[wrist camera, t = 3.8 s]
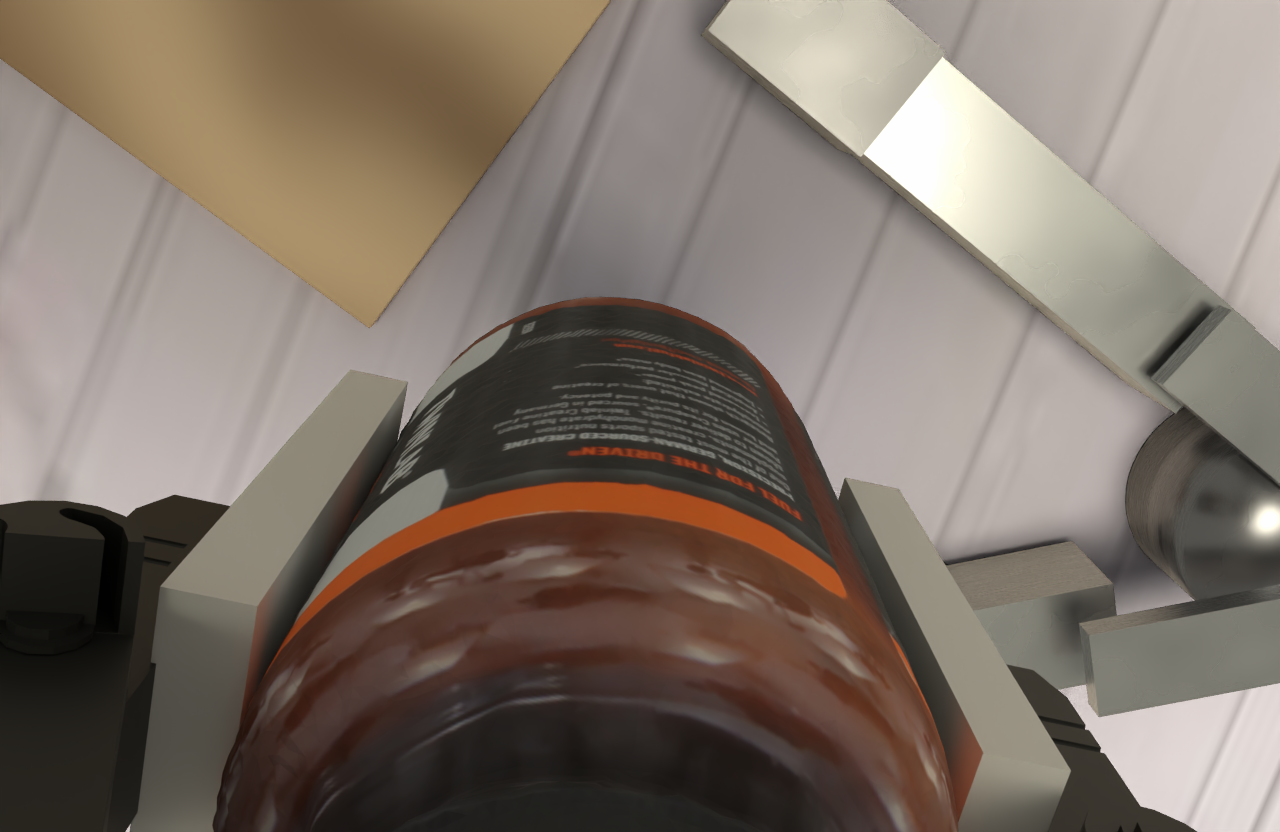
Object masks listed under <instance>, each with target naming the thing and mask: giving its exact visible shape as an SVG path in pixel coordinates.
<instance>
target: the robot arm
mask: <svg viewBox="0 0 1280 832" xmlns="http://www.w3.org/2000/svg"><path fill="white" fill-rule="evenodd" d="M407 384H408V382H405V381H400V380H396V379H391V378H387V377H382V376H377V375H373V374H368V373H364V372H359V371H354V370H350V371H349V372H348V373H347V374H346V375H345V377H344V378H343V379H342V380H341V381H340V382H339V383H338V385H337V386H336V387H335V388H334V389H333V390H332V391H331V393H330V394H329V395H328V396H327V397H326V398H325V399H324V401H323V402H322V403H321V404H320V405H319V406H318V407H317V408H316V410H315V411H314V412H313V413H312V414H311V415H310V416H309V418H308V419H307V420H306V421H305V422H304V423H303V424H302V426H301V427H300V428H299V429H298V430H297V431H296V432H295V434H294V435H293V436H292V437H291V438H290V439H289V440H288V442H287V443H286V444H285V445H284V446H283V447H282V448H281V449H280V451H279V452H278V453H277V454H276V455H275V456H274V457H273V459H272V460H271V461H270V462H269V463H268V464H267V465H266V467H265V468H264V469H263V470H262V471H261V472H260V473H259V475H258V476H257V477H256V478H255V479H254V480H253V481H252V482H251V484H250V485H249V486H248V487H247V488H246V489H245V490H244V492H243V493H242V494H241V495H240V496H239V497H238V498H237V500H236V501H235V502H234V503H233V504H232V505H231V506H226V505H222V504H217V503H212V502H207V501H202V500H198V499H193V498H188V497H183V496H178V495H173V496H170V497H167V498H164V499H161V500H159V501H156V502H153V503H150V504H147V505H145V506H142V507H139V508H136V509H135V510H134V511H133V512H132V513H131V514H130V515H128V516H127V517H125V516H123V515H120V514H118V513H115V512H112V511H109V510H106V509H104V508H101V507H98V506H93V505H86V504H80V503H74V502H68V501H23V502H17V503H10V504H3V505H0V832H125V831H126V830H127V828H128V827H129V825H130V823H131V826H130V832H214V831H213V826H212V824H213V819H214V816H215V813H216V809H217V796H218V793H219V790H220V787H221V780H222V773H223V770H224V767H225V764H226V761H227V758H228V755H229V753H230V751H231V749H232V747H233V745H234V743H235V740H236V736H237V734H238V731H239V729H240V726H241V724H242V721H243V719H244V716H245V714H246V712H247V709H248V707H249V704H250V702H251V700H252V698H253V697H254V695H255V693H256V691H257V689H258V687H259V685H260V683H261V681H262V679H263V677H264V675H265V673H266V671H267V670H268V668H269V666H270V664H271V663H272V661H273V659H274V657H275V656H276V654H277V652H278V650H279V648H280V647H281V645H282V642H283V640H284V638H285V637H286V635H287V633H288V631H289V629H290V627H291V625H292V623H293V622H294V620H295V618H296V616H297V614H298V613H299V611H300V610H301V609H302V607H303V606H304V604H305V602H306V600H307V598H308V596H309V594H310V592H311V590H312V588H313V587H314V585H315V584H316V582H317V581H318V579H319V578H320V576H321V575H322V572H323V570H324V567H325V565H326V564H327V562H328V561H329V560H330V558H331V557H332V555H333V552H334V550H335V549H336V547H337V546H338V544H339V543H340V541H341V540H342V538H343V536H344V535H345V533H346V531H347V529H348V527H349V526H350V524H351V522H352V520H353V519H354V517H355V516H356V515H357V513H358V511H359V509H360V508H361V506H362V505H363V503H364V501H365V500H366V498H367V496H368V495H369V492H370V490H371V487H372V486H373V484H374V482H375V481H376V479H377V477H378V475H379V473H380V471H381V470H382V467H383V465H384V464H385V463H386V461H387V459H388V457H389V455H390V453H391V452H392V450H393V448H394V447H395V445H396V444H397V440H398V434H399V429H400V423H401V418H402V412H403V407H404V401H405V396H406V390H407ZM838 502H839V504H840V506H841V509H842V511H843V513H844V515H845V518H846V520H847V523H848V525H849V527H850V529H851V532H852V534H853V536H854V538H855V540H856V543H857V545H858V547H859V549H860V551H861V553H862V555H863V558H864V561H865V563H866V566H867V568H868V571H869V572H870V574H871V576H872V579H873V581H874V583H875V585H876V588H877V590H878V593H879V596H880V598H881V600H882V602H883V604H884V607H885V609H886V611H887V613H888V616H889V618H890V621H891V623H892V625H893V628H894V630H895V632H896V634H897V636H898V637H899V639H900V641H901V643H902V644H903V646H904V648H905V651H906V654H907V657H908V660H909V663H910V666H911V669H912V671H913V673H914V675H915V677H916V679H917V683H918V686H919V688H920V690H921V692H922V695H923V697H924V699H925V701H926V703H927V705H928V708H929V710H930V712H931V714H932V717H933V720H934V723H935V726H936V729H937V731H938V734H939V737H940V740H941V743H942V746H943V749H944V752H945V757H946V761H947V765H948V769H949V774H950V778H951V783H952V788H953V793H954V798H955V803H956V808H957V817H958V832H1197V831H1195V830H1194V829H1192V828H1191V827H1189V826H1188V825H1186V824H1184V823H1182V822H1180V821H1178V820H1175V819H1173V818H1171V817H1169V816H1167V815H1164V814H1162V813H1160V812H1158V811H1155V810H1152V809H1148V808H1144V807H1140V805H1139V804H1138V802H1137V801H1136V799H1135V798H1134V796H1133V795H1132V793H1131V792H1130V790H1129V789H1128V787H1127V786H1126V784H1125V783H1124V781H1123V780H1122V778H1121V777H1120V775H1119V774H1118V772H1117V771H1116V769H1115V768H1114V767H1113V765H1112V764H1111V762H1110V761H1109V759H1108V758H1107V756H1106V755H1105V754H1104V753H1100V749H1101V747H1100V746H1099V744H1098V743H1097V741H1096V740H1095V738H1094V737H1093V735H1092V734H1091V732H1090V731H1089V730H1085V724H1084V722H1083V721H1082V719H1081V718H1080V716H1079V715H1078V713H1077V712H1076V710H1075V709H1074V707H1073V706H1072V704H1071V703H1070V701H1069V700H1068V698H1067V697H1066V696H1064V695H1063V694H1062V693H1061V692H1060V691H1058V690H1057V689H1056V688H1055V687H1054V686H1052V685H1051V684H1050V683H1049V682H1047V681H1046V680H1045V679H1044V678H1043V677H1041V676H1040V675H1039V674H1038V673H1036V672H1035V671H1034V670H1031V669H1026V668H1021V667H1017V666H1012V665H1007V664H1005V662H1004V660H1003V659H1002V657H1001V655H1000V654H999V652H998V650H997V649H996V647H995V646H994V644H993V642H992V641H991V639H990V637H989V636H988V634H987V633H986V631H985V629H984V628H983V626H982V624H981V623H980V621H979V619H978V618H977V616H976V615H975V613H974V611H973V610H972V608H971V606H970V605H969V603H968V601H967V600H966V598H965V597H964V595H963V593H962V592H961V590H960V588H959V587H958V585H957V583H956V582H955V580H954V579H953V577H952V575H951V574H950V572H949V570H948V569H947V567H946V566H945V564H944V562H943V561H942V559H941V557H940V556H939V554H938V552H937V551H936V549H935V548H934V546H933V544H932V543H931V541H930V539H929V538H928V536H927V534H926V533H925V531H924V530H923V528H922V526H921V525H920V523H919V521H918V520H917V518H916V516H915V515H914V513H913V512H912V510H911V508H910V507H909V505H908V503H907V502H906V500H905V499H904V497H903V495H902V494H901V492H900V490H899V489H895V488H891V487H886V486H882V485H877V484H872V483H868V482H863V481H859V480H854V479H850V478H845V479H844V483H843V486H842V489H841V493H840V496H839V499H838Z"/></svg>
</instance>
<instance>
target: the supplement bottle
mask: <svg viewBox="0 0 1280 832" xmlns="http://www.w3.org/2000/svg"><path fill="white" fill-rule="evenodd" d="M212 826H213V831H214V832H958V817H957V808H956V803H955V798H954V793H953V788H952V783H951V778H950V774H949V769H948V765H947V761H946V757H945V752H944V749H943V746H942V743H941V740H940V737H939V734H938V731H937V729H936V726H935V723H934V720H933V717H932V714H931V712H930V710H929V708H928V705H927V703H926V701H925V699H924V697H923V695H922V692H921V690H920V688H919V686H918V683H917V679H916V677H915V675H914V673H913V671H912V669H911V666H910V663H909V660H908V657H907V654H906V651H905V648H904V646H903V644H902V643H901V641H900V639H899V637H898V636H897V634H896V632H895V630H894V628H893V625H892V623H891V621H890V618H889V616H888V613H887V611H886V609H885V607H884V604H883V602H882V600H881V598H880V596H879V593H878V590H877V588H876V585H875V583H874V581H873V579H872V576H871V574H870V572H869V571H868V568H867V566H866V563H865V561H864V558H863V555H862V553H861V551H860V549H859V547H858V545H857V543H856V540H855V538H854V536H853V534H852V532H851V529H850V527H849V525H848V523H847V520H846V518H845V515H844V513H843V511H842V509H841V506H840V504H839V502H838V499H837V497H836V495H835V493H834V491H833V489H832V486H831V484H830V482H829V479H828V477H827V475H826V472H825V470H824V468H823V466H822V463H821V461H820V459H819V457H818V455H817V453H816V451H815V449H814V447H813V444H812V441H811V439H810V437H809V435H808V433H807V431H806V429H805V426H804V424H803V422H802V421H801V419H800V417H799V416H798V414H797V413H796V412H795V410H794V408H793V406H792V404H791V402H790V401H789V400H788V398H787V397H786V395H785V394H784V392H783V391H782V389H781V387H780V385H779V384H778V383H777V381H776V380H775V379H774V378H773V376H772V375H771V374H770V372H769V371H768V370H767V369H766V368H765V367H764V366H763V365H762V364H761V363H760V362H759V361H758V359H757V358H756V357H755V356H753V355H752V354H751V353H750V352H749V350H748V349H747V348H746V347H745V346H744V345H743V344H741V343H740V342H739V341H737V340H736V339H734V338H733V337H732V336H730V335H729V334H727V333H726V332H725V331H723V330H722V329H720V328H718V327H716V326H714V325H712V324H710V323H708V322H707V321H704V320H702V319H701V318H699V317H696V316H693V315H691V314H688V313H686V312H683V311H681V310H678V309H675V308H672V307H669V306H666V305H663V304H659V303H654V302H649V301H644V300H639V299H627V298H614V297H585V298H579V299H573V300H567V301H562V302H558V303H554V304H550V305H546V306H542V307H539V308H536V309H534V310H531V311H529V312H527V313H524V314H522V315H520V316H518V317H516V318H513V319H511V320H509V321H508V322H506V323H504V324H501V325H499V326H497V327H496V328H494V329H493V330H491V331H490V332H488V333H487V334H485V335H484V336H482V337H481V338H479V339H478V340H476V341H475V342H474V343H473V344H472V345H471V346H469V347H468V348H467V349H466V350H465V351H464V352H462V353H461V354H460V355H459V356H458V357H457V358H456V359H455V360H453V362H452V363H451V365H450V366H449V367H448V368H447V370H446V371H445V372H444V373H443V374H442V375H441V376H440V377H439V378H438V379H437V381H436V382H435V383H434V385H433V386H432V387H431V388H430V389H429V391H428V392H427V394H426V395H425V397H424V399H423V400H422V401H421V402H420V404H419V405H418V406H417V408H416V409H415V410H414V411H413V414H412V416H411V418H410V420H409V422H408V423H407V425H406V426H405V427H404V429H403V430H402V431H401V434H400V437H399V440H398V442H397V444H396V445H395V447H394V448H393V450H392V452H391V453H390V455H389V457H388V459H387V461H386V463H385V464H384V465H383V467H382V470H381V471H380V473H379V475H378V477H377V479H376V481H375V482H374V484H373V486H372V487H371V490H370V492H369V495H368V496H367V498H366V500H365V501H364V503H363V505H362V506H361V508H360V509H359V511H358V513H357V515H356V516H355V517H354V519H353V520H352V522H351V524H350V526H349V527H348V529H347V531H346V533H345V535H344V536H343V538H342V540H341V541H340V543H339V544H338V546H337V547H336V549H335V550H334V552H333V555H332V557H331V558H330V560H329V561H328V562H327V564H326V565H325V567H324V570H323V572H322V575H321V576H320V578H319V579H318V581H317V582H316V584H315V585H314V587H313V588H312V590H311V592H310V594H309V596H308V598H307V600H306V602H305V604H304V606H303V607H302V609H301V610H300V611H299V613H298V614H297V616H296V618H295V620H294V622H293V623H292V625H291V627H290V629H289V631H288V633H287V635H286V637H285V638H284V640H283V642H282V645H281V647H280V648H279V650H278V652H277V654H276V656H275V657H274V659H273V661H272V663H271V664H270V666H269V668H268V670H267V671H266V673H265V675H264V677H263V679H262V681H261V683H260V685H259V687H258V689H257V691H256V693H255V695H254V697H253V698H252V700H251V702H250V704H249V707H248V709H247V712H246V714H245V716H244V719H243V721H242V724H241V726H240V729H239V731H238V734H237V736H236V740H235V743H234V745H233V747H232V749H231V751H230V753H229V755H228V758H227V761H226V764H225V767H224V770H223V773H222V780H221V787H220V790H219V793H218V796H217V809H216V813H215V816H214V819H213V824H212Z"/></svg>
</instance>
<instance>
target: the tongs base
mask: <svg viewBox="0 0 1280 832" xmlns="http://www.w3.org/2000/svg"><path fill="white" fill-rule="evenodd" d="M701 36H702V37H703V38H705V39H706V40H707V41H708V42H709V43H711V44H712V45H713V46H714V47H715V48H717V49H718V50H719V51H720V52H721V53H723V54H724V55H725V56H726V57H727V58H729V59H730V60H731V61H732V62H733V63H735V64H736V65H737V66H738V67H739V68H741V69H742V70H743V71H744V72H745V73H747V74H748V75H749V76H750V77H751V78H753V79H754V80H755V81H756V82H757V83H759V84H760V85H761V86H762V87H763V88H765V89H766V90H767V91H768V92H770V93H771V94H772V95H773V96H774V97H776V98H777V99H778V100H779V101H780V102H782V103H783V104H784V105H785V106H786V107H788V108H789V109H790V110H791V111H792V112H794V113H795V114H796V115H797V116H798V117H800V118H801V119H802V120H803V121H804V122H806V123H807V124H808V125H809V126H810V127H812V128H813V129H814V130H815V131H816V132H818V133H819V134H820V135H821V136H822V137H824V138H825V139H826V140H827V141H828V142H830V143H831V144H832V145H833V146H834V147H836V148H837V149H838V150H840V151H843V152H846V153H849V154H851V155H853V156H854V157H855V158H856V159H857V160H859V161H860V162H861V163H862V164H863V165H865V166H866V167H867V168H868V169H869V170H871V171H872V172H873V173H874V174H875V175H877V176H878V177H879V178H880V179H881V180H883V181H884V182H885V183H886V184H887V185H889V186H890V187H891V188H892V189H893V190H895V191H896V192H897V193H898V194H899V195H901V196H902V197H903V198H904V199H905V200H907V201H908V202H909V203H910V204H911V205H913V206H914V207H915V208H916V209H917V210H919V211H920V212H921V213H922V214H923V215H925V216H926V217H927V218H928V219H929V220H931V221H932V222H933V223H934V224H935V225H937V226H938V227H939V228H940V229H941V230H943V231H944V232H945V233H946V234H947V235H949V236H950V237H951V238H952V239H953V240H955V241H956V242H957V243H958V244H959V245H961V246H962V247H963V248H964V249H965V250H967V251H968V252H969V253H970V254H971V255H973V256H974V257H975V258H976V259H978V260H979V261H980V262H981V263H982V264H984V265H985V266H986V267H987V268H988V269H990V270H991V271H992V272H993V273H994V274H996V275H997V276H998V277H999V278H1000V279H1002V280H1003V281H1004V282H1005V283H1006V284H1008V285H1009V286H1010V287H1011V288H1012V289H1014V290H1015V291H1016V292H1017V293H1018V294H1020V295H1021V296H1022V297H1023V298H1024V299H1026V300H1027V301H1028V302H1029V303H1030V304H1032V305H1033V306H1034V307H1035V308H1036V309H1038V310H1039V311H1040V312H1041V313H1042V314H1044V315H1045V316H1046V317H1047V318H1048V319H1050V320H1051V321H1052V322H1053V323H1054V324H1056V325H1057V326H1058V327H1059V328H1060V329H1062V330H1063V331H1064V332H1065V333H1066V334H1068V335H1069V336H1070V337H1071V338H1072V339H1074V340H1075V341H1076V342H1077V343H1078V344H1080V345H1081V346H1082V347H1083V348H1084V349H1086V350H1087V351H1088V352H1089V353H1090V354H1092V355H1093V356H1094V357H1095V358H1096V359H1098V360H1099V361H1100V362H1101V363H1103V364H1104V365H1105V366H1106V367H1107V368H1109V369H1110V370H1111V371H1112V372H1113V373H1115V374H1116V375H1117V376H1118V377H1119V378H1121V379H1122V380H1123V381H1124V382H1125V383H1127V384H1128V385H1129V386H1131V387H1133V388H1134V389H1136V390H1138V391H1139V392H1141V393H1143V394H1144V395H1146V396H1147V397H1149V398H1151V399H1152V400H1154V401H1156V402H1157V403H1159V404H1161V405H1162V406H1164V407H1165V408H1167V409H1169V410H1170V411H1172V412H1174V413H1175V414H1174V415H1172V416H1171V417H1170V418H1168V419H1167V420H1166V421H1164V422H1163V423H1162V424H1161V425H1160V426H1159V427H1158V428H1157V429H1156V430H1155V431H1154V432H1153V434H1152V435H1151V436H1150V437H1149V438H1148V440H1147V441H1146V442H1145V444H1144V445H1143V447H1142V448H1141V450H1140V451H1139V453H1138V455H1137V457H1136V459H1135V461H1134V463H1133V466H1132V469H1131V472H1130V475H1129V479H1128V484H1127V489H1126V512H1127V518H1128V522H1129V526H1130V528H1131V531H1132V534H1133V536H1134V538H1135V540H1136V541H1137V543H1138V545H1139V547H1140V548H1141V549H1142V550H1143V552H1144V553H1145V554H1146V555H1147V556H1148V557H1149V558H1150V559H1151V560H1152V561H1153V562H1154V563H1155V564H1156V565H1157V566H1158V567H1159V568H1160V569H1162V570H1163V571H1164V572H1165V573H1166V574H1167V575H1168V576H1169V577H1170V578H1171V579H1172V580H1174V581H1175V582H1176V583H1177V584H1178V585H1179V586H1180V587H1181V588H1182V589H1183V590H1184V591H1185V592H1187V593H1188V594H1189V595H1190V596H1191V597H1192V598H1193V599H1194V600H1195V601H1196V600H1201V599H1207V598H1212V597H1217V596H1222V595H1227V594H1233V593H1238V592H1243V591H1248V590H1253V589H1258V588H1264V587H1269V586H1274V585H1279V584H1280V351H1279V350H1278V349H1277V348H1275V347H1274V346H1273V345H1272V344H1271V343H1270V342H1269V341H1267V340H1266V339H1265V338H1264V337H1263V336H1262V335H1260V334H1259V333H1258V332H1257V331H1256V330H1255V327H1254V326H1252V325H1251V324H1250V323H1249V322H1248V321H1247V320H1246V319H1244V318H1243V317H1242V316H1241V315H1240V314H1239V313H1237V312H1236V311H1235V310H1234V309H1233V308H1232V307H1231V306H1229V305H1228V304H1227V303H1226V302H1225V301H1224V300H1222V299H1221V298H1220V297H1219V296H1218V295H1217V294H1216V293H1214V292H1213V291H1212V290H1211V289H1210V288H1209V287H1207V286H1206V285H1205V284H1204V283H1203V282H1202V281H1201V280H1199V279H1198V278H1197V277H1196V276H1195V275H1194V274H1192V273H1191V272H1190V271H1189V270H1188V269H1187V268H1185V267H1184V266H1183V265H1182V264H1181V263H1180V262H1179V261H1177V260H1176V259H1175V258H1174V257H1173V256H1172V255H1170V254H1169V253H1168V252H1167V251H1166V250H1165V249H1164V248H1162V247H1161V246H1160V245H1159V244H1158V243H1157V242H1155V241H1154V240H1153V239H1152V238H1151V237H1150V236H1149V235H1147V234H1146V233H1145V232H1144V231H1143V230H1142V229H1140V228H1139V227H1138V226H1137V225H1136V224H1135V223H1134V222H1132V221H1131V220H1130V219H1129V218H1128V217H1127V216H1125V215H1124V214H1123V213H1122V212H1121V211H1120V210H1119V209H1117V208H1116V207H1115V206H1114V205H1113V204H1112V203H1110V202H1109V201H1108V200H1107V199H1106V198H1105V197H1103V196H1102V195H1101V194H1100V193H1099V192H1098V191H1097V190H1095V189H1094V188H1093V187H1092V186H1091V185H1090V184H1088V183H1087V182H1086V181H1085V180H1084V179H1083V178H1082V177H1080V176H1079V175H1078V174H1077V173H1076V172H1075V171H1073V170H1072V169H1071V168H1070V167H1069V166H1068V165H1067V164H1065V163H1064V162H1063V161H1062V160H1061V159H1060V158H1058V157H1057V156H1056V155H1055V154H1054V153H1053V152H1052V151H1050V150H1049V149H1048V148H1047V147H1046V146H1045V145H1043V144H1042V143H1041V142H1040V141H1039V140H1038V139H1037V138H1035V137H1034V136H1033V135H1032V134H1031V133H1030V132H1028V131H1027V130H1026V129H1025V128H1024V127H1023V126H1022V125H1020V124H1019V123H1018V122H1017V121H1016V120H1015V119H1013V118H1012V117H1011V116H1010V115H1009V114H1008V113H1006V112H1005V111H1004V110H1003V109H1002V108H1001V107H1000V106H998V105H997V104H996V103H995V102H994V101H993V100H991V99H990V98H989V97H988V96H987V95H986V94H985V93H983V92H982V91H981V90H980V89H979V88H978V87H976V86H975V85H974V84H973V83H972V82H971V81H970V80H968V79H967V78H966V77H965V76H964V75H963V74H961V73H960V72H959V71H958V70H957V69H956V68H955V67H953V66H952V65H951V64H950V63H949V62H948V61H946V60H945V59H944V58H943V56H944V55H945V53H946V51H944V50H943V49H942V48H941V47H940V46H939V45H937V44H936V43H935V42H934V41H933V40H932V39H931V38H929V37H928V36H927V35H926V34H925V33H924V32H923V31H921V30H920V29H919V28H918V27H917V26H916V25H914V24H913V23H912V22H911V21H910V20H909V19H908V18H906V17H905V16H904V15H903V14H902V13H901V12H899V11H898V10H897V9H896V8H895V7H894V6H893V5H891V4H890V3H889V2H888V1H887V0H727V1H726V2H725V4H724V5H723V6H722V8H721V9H720V10H719V12H718V13H717V14H716V16H715V17H714V18H713V20H712V21H711V22H710V23H709V25H708V26H707V27H706V29H705V30H704V31H703V33H702V34H701ZM1182 406H1184V407H1185V408H1183V409H1181V410H1180V411H1179V409H1180V408H1181V407H1182Z"/></svg>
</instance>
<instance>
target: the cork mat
mask: <svg viewBox="0 0 1280 832" xmlns="http://www.w3.org/2000/svg"><path fill="white" fill-rule="evenodd" d="M610 2H611V0H0V59H2V60H3V61H4V62H6V63H7V64H8V65H10V66H11V67H13V68H14V69H15V70H17V71H18V72H19V73H21V74H22V75H23V76H25V77H26V78H28V79H29V80H30V81H32V82H33V83H34V84H36V85H37V86H39V87H40V88H41V89H43V90H44V91H45V92H47V93H48V94H49V95H51V96H52V97H54V98H55V99H56V100H58V101H59V102H60V103H62V104H63V105H65V106H66V107H67V108H69V109H70V110H71V111H73V112H74V113H75V114H77V115H78V116H80V117H81V118H82V119H84V120H85V121H86V122H88V123H89V124H91V125H92V126H93V127H95V128H96V129H97V130H99V131H100V132H101V133H103V134H104V135H106V136H107V137H108V138H110V139H111V140H112V141H114V142H115V143H117V144H118V145H119V146H121V147H122V148H123V149H125V150H126V151H127V152H129V153H130V154H132V155H133V156H134V157H136V158H137V159H138V160H140V161H141V162H143V163H144V164H145V165H147V166H148V167H149V168H151V169H152V170H153V171H155V172H156V173H158V174H159V175H160V176H162V177H163V178H164V179H166V180H167V181H169V182H170V183H171V184H173V185H174V186H175V187H177V188H178V189H179V190H181V191H182V192H184V193H185V194H186V195H188V196H189V197H190V198H192V199H193V200H195V201H196V202H197V203H199V204H200V205H201V206H203V207H204V208H205V209H207V210H208V211H210V212H211V213H212V214H214V215H215V216H216V217H218V218H219V219H221V220H222V221H223V222H225V223H226V224H227V225H229V226H230V227H231V228H233V229H234V230H236V231H237V232H238V233H240V234H241V235H242V236H244V237H245V238H247V239H248V240H249V241H251V242H252V243H253V244H255V245H256V246H257V247H259V248H260V249H262V250H263V251H264V252H266V253H267V254H268V255H270V256H271V257H273V258H274V259H275V260H277V261H278V262H279V263H281V264H282V265H283V266H285V267H286V268H288V269H289V270H290V271H292V272H293V273H294V274H296V275H297V276H299V277H300V278H301V279H303V280H304V281H305V282H307V283H308V284H309V285H311V286H312V287H314V288H315V289H316V290H318V291H319V292H320V293H322V294H323V295H325V296H326V297H327V298H329V299H330V300H331V301H333V302H334V303H335V304H337V305H338V306H340V307H341V308H342V309H344V310H345V311H346V312H348V313H349V314H351V315H352V316H353V317H355V318H356V319H357V320H359V321H360V322H361V323H363V324H364V325H366V326H367V327H368V328H370V327H371V326H372V325H373V324H374V323H375V322H376V321H377V319H378V318H379V317H380V315H381V314H382V312H383V311H384V310H385V308H386V307H387V306H388V304H389V303H390V302H391V300H392V299H393V297H394V296H395V295H396V293H397V292H398V291H399V289H400V288H401V287H402V285H403V284H404V282H405V281H406V280H407V278H408V277H409V276H410V274H411V273H412V272H413V270H414V269H415V268H416V266H417V265H418V263H419V262H420V261H421V259H422V258H423V257H424V255H425V254H426V253H427V251H428V250H429V248H430V247H431V246H432V244H433V243H434V242H435V240H436V239H437V238H438V236H439V235H440V233H441V232H442V231H443V229H444V228H445V227H446V225H447V224H448V223H449V221H450V220H451V218H452V217H453V216H454V214H455V213H456V212H457V210H458V209H459V208H460V206H461V205H462V203H463V202H464V201H465V199H466V198H467V197H468V195H469V194H470V193H471V191H472V190H473V188H474V187H475V186H476V184H477V183H478V182H479V180H480V179H481V178H482V176H483V175H484V173H485V172H486V171H487V169H488V168H489V167H490V165H491V164H492V163H493V161H494V160H495V158H496V157H497V156H498V154H499V153H500V152H501V150H502V149H503V148H504V146H505V145H506V143H507V142H508V141H509V139H510V138H511V137H512V135H513V134H514V133H515V131H516V130H517V129H518V127H519V126H520V124H521V123H522V122H523V120H524V119H525V118H526V116H527V115H528V114H529V112H530V111H531V109H532V108H533V107H534V105H535V104H536V103H537V101H538V100H539V99H540V97H541V96H542V94H543V93H544V92H545V90H546V89H547V88H548V86H549V85H550V84H551V82H552V81H553V79H554V78H555V77H556V75H557V74H558V73H559V71H560V70H561V69H562V67H563V66H564V64H565V63H566V62H567V60H568V59H569V58H570V56H571V55H572V54H573V52H574V51H575V49H576V48H577V47H578V45H579V44H580V43H581V41H582V40H583V39H584V37H585V36H586V34H587V33H588V32H589V30H590V29H591V28H592V26H593V25H594V24H595V22H596V21H597V19H598V18H599V17H600V15H601V14H602V13H603V11H604V10H605V9H606V7H607V6H608V4H609V3H610Z"/></svg>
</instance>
